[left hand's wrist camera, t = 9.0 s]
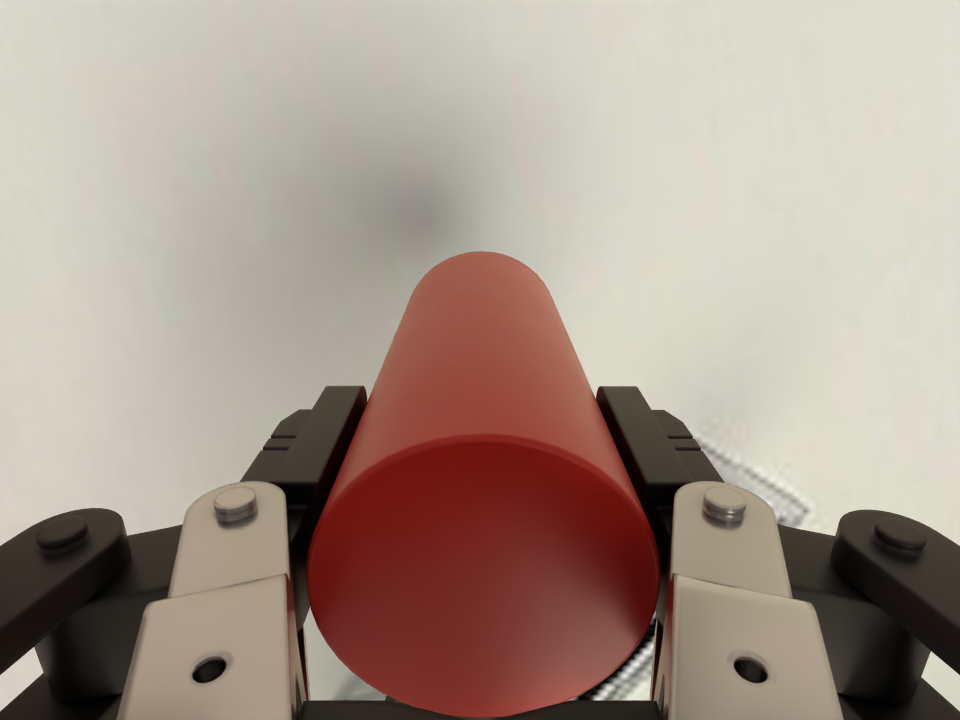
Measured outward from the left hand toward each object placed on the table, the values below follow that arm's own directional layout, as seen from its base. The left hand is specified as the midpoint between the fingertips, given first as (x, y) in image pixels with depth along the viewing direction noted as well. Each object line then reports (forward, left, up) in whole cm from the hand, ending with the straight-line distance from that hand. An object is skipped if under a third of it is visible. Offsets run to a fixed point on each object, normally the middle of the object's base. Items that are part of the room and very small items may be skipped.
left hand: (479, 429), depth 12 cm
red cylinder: (0, 0, -7) cm, 7 cm away
